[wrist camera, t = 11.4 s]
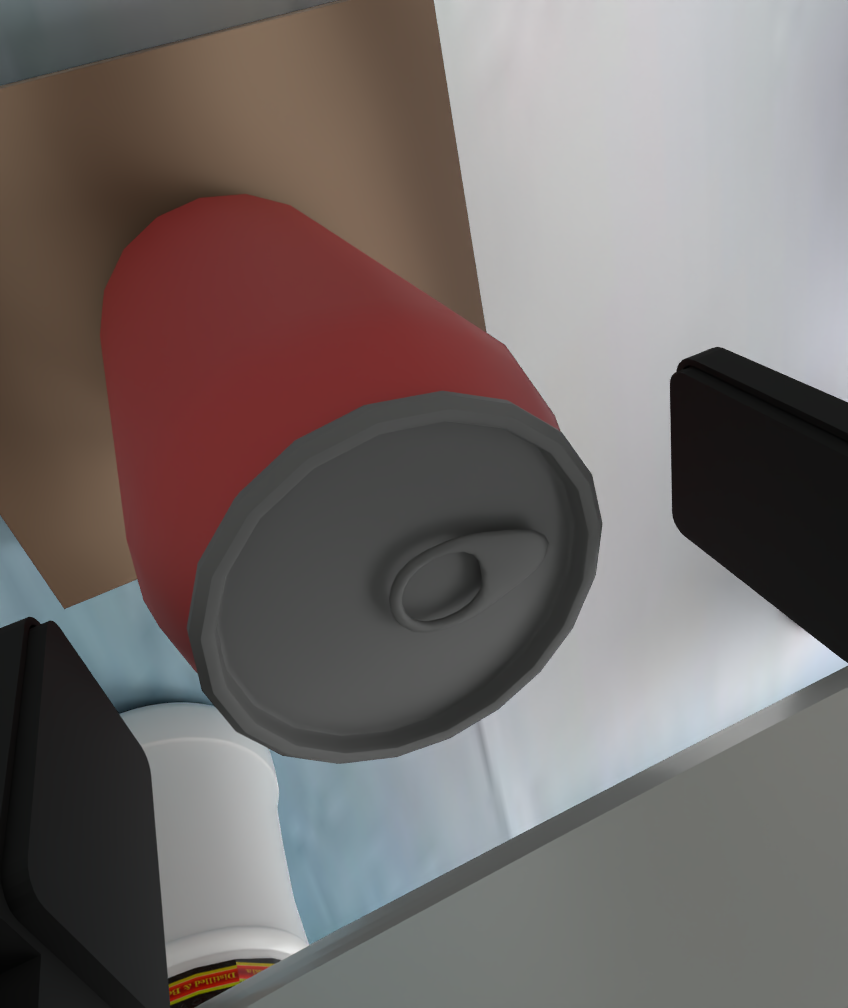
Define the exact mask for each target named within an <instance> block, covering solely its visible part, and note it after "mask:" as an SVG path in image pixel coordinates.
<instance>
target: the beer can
mask: <svg viewBox="0 0 848 1008" xmlns="http://www.w3.org/2000/svg"><path fill="white" fill-rule="evenodd" d="M100 340H101V348H102V356H103V363H104V371H105V379H106V386H107V394H108V402H109V409H110V417H111V425H112V432H113V440H114V448H115V455H116V463H117V471H118V478H119V486H120V494H121V502H122V509H123V517H124V525H125V532H126V540H127V543H128V547H129V550H130V554H131V557H132V561H133V565H134V568H135V572H136V575H137V579H138V582H139V586H140V589H141V593H142V596H143V600H144V602H145V604H146V605H147V607H148V609H149V610H150V612H151V614H152V615H153V617H154V619H155V620H156V622H157V624H158V625H159V627H160V628H161V629H162V631H163V632H164V633H165V634H166V636H167V637H168V638H169V639H170V641H171V642H172V643H173V644H174V645H175V647H176V648H177V649H178V650H179V652H180V653H181V654H182V655H183V657H184V658H185V659H186V660H187V661H188V663H189V664H190V665H191V666H192V668H193V669H194V670H195V671H196V672H197V673H198V677H199V681H200V685H201V689H202V691H203V693H204V694H205V695H206V696H207V697H208V699H209V700H210V701H211V702H212V703H213V705H214V706H215V707H216V708H217V710H218V711H219V712H220V713H221V714H222V716H223V717H224V718H225V719H226V720H227V722H228V723H229V724H230V725H231V726H232V728H233V729H234V730H235V731H236V732H238V733H240V734H241V735H243V736H245V737H247V738H249V739H251V740H253V741H255V742H257V743H259V744H261V745H263V746H265V747H267V748H269V749H271V750H273V751H275V752H276V753H278V754H280V755H282V756H288V757H295V758H302V759H309V760H316V761H323V762H329V763H336V764H341V763H350V762H359V761H367V760H376V759H384V758H393V757H398V756H401V755H404V754H407V753H409V752H412V751H415V750H418V749H421V748H424V747H426V746H429V745H432V744H435V743H438V742H441V741H443V740H446V739H449V738H451V737H453V736H454V735H456V734H458V733H459V732H461V731H463V730H464V729H466V728H468V727H470V726H471V725H473V724H475V723H476V722H478V721H480V720H481V719H483V718H485V717H486V716H488V715H490V714H491V713H493V712H495V711H496V710H498V709H499V708H500V707H502V706H503V705H504V704H505V703H506V702H507V701H508V700H509V699H510V698H512V697H513V696H514V695H515V694H516V693H517V692H518V691H519V690H521V689H522V688H523V687H524V686H525V685H526V684H527V683H528V682H530V681H531V680H532V679H533V678H534V677H535V676H536V675H537V674H538V673H540V672H541V670H542V669H543V667H544V666H545V665H546V663H547V662H548V661H549V659H550V658H551V657H552V655H553V654H554V653H555V651H556V650H557V649H558V647H559V646H560V645H561V643H562V642H563V641H564V639H565V638H566V637H567V635H568V634H569V632H570V631H571V630H572V628H573V626H574V624H575V622H576V619H577V617H578V615H579V612H580V610H581V608H582V606H583V603H584V601H585V599H586V596H587V594H588V592H589V589H590V587H591V585H592V582H593V580H594V578H595V575H596V568H597V561H598V553H599V546H600V538H601V531H602V519H601V515H600V510H599V505H598V501H597V496H596V491H595V487H594V482H593V477H592V474H591V473H590V471H589V470H588V469H587V467H586V466H585V464H584V463H583V462H582V460H581V459H580V457H579V456H578V454H577V453H576V452H575V450H574V449H573V447H572V446H571V445H570V443H569V442H568V440H567V439H566V438H565V436H564V435H563V433H562V432H561V431H560V429H559V426H558V423H557V421H556V418H555V415H554V414H553V412H552V411H551V410H550V408H549V407H548V405H547V404H546V402H545V401H544V400H543V398H542V397H541V395H540V394H539V392H538V391H537V390H536V388H535V387H534V385H533V384H532V382H531V381H530V380H529V378H528V377H527V375H526V374H525V373H524V371H523V370H522V368H521V367H520V365H519V364H518V363H517V361H516V360H515V358H514V357H513V356H512V354H511V353H510V351H509V350H508V348H507V347H506V346H505V345H504V344H503V343H501V342H500V341H498V340H497V339H495V338H493V337H492V336H490V335H489V334H487V333H486V332H484V331H483V330H481V329H480V328H478V327H477V326H475V325H474V324H472V323H471V322H469V321H467V320H466V319H464V318H463V317H461V316H460V315H458V314H457V313H455V312H454V311H452V310H451V309H449V308H448V307H446V306H444V305H443V304H441V303H440V302H438V301H437V300H435V299H434V298H432V297H431V296H429V295H428V294H426V293H425V292H423V291H421V290H420V289H418V288H417V287H415V286H414V285H412V284H411V283H409V282H408V281H406V280H405V279H403V278H402V277H400V276H398V275H397V274H395V273H394V272H392V271H391V270H389V269H388V268H386V267H385V266H383V265H382V264H380V263H379V262H377V261H375V260H374V259H372V258H371V257H369V256H368V255H366V254H365V253H363V252H362V251H360V250H359V249H357V248H356V247H354V246H352V245H351V244H349V243H348V242H346V241H345V240H343V239H342V238H340V237H339V236H337V235H336V234H334V233H333V232H331V231H329V230H328V229H326V228H325V227H323V226H322V225H320V224H319V223H317V222H316V221H314V220H312V219H311V218H309V217H308V216H306V215H305V214H303V213H302V212H300V211H299V210H297V209H295V208H294V207H292V206H291V205H288V204H284V203H280V202H276V201H272V200H268V199H264V198H260V197H256V196H252V195H248V194H239V195H227V196H215V197H203V198H198V199H196V200H194V201H192V202H189V203H187V204H185V205H183V206H180V207H178V208H176V209H174V210H172V211H169V212H167V213H165V214H163V215H160V216H158V217H157V218H156V219H155V220H153V221H152V222H151V223H150V224H149V225H148V226H147V227H146V228H145V229H144V230H143V231H142V232H141V233H140V234H139V235H138V236H137V237H136V238H135V239H134V240H133V241H132V242H131V243H130V244H129V245H128V246H127V247H126V248H125V249H124V250H123V252H122V254H121V256H120V258H119V260H118V262H117V264H116V267H115V269H114V271H113V273H112V275H111V277H110V279H109V281H108V283H107V285H106V287H105V290H104V296H103V306H102V317H101V328H100Z"/></svg>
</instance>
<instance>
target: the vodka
mask: <svg viewBox="0 0 848 1008" xmlns="http://www.w3.org/2000/svg"><path fill="white" fill-rule="evenodd" d="M119 715H120V716H121V717H122V719H123V720H124V722H125V723H126V725H127V726H128V728H129V729H130V731H131V732H132V733H133V735H134V736H135V738H136V739H137V741H138V742H139V744H140V745H141V747H142V748H143V750H144V752H145V754H146V757H147V759H148V762H149V766H150V770H151V778H152V790H153V803H154V815H155V827H156V839H157V851H158V863H159V875H160V887H161V899H162V911H163V924H164V936H165V948H166V960H167V972H168V984H169V996H170V1008H195V1007H197V1006H198V1005H200V1004H202V1003H204V1002H206V1001H208V1000H210V999H211V998H213V997H215V996H217V995H219V994H221V993H222V992H224V991H226V990H228V989H230V988H232V987H233V986H235V985H237V984H239V983H241V982H243V981H244V980H246V979H248V978H250V977H252V976H254V975H256V974H257V973H259V972H261V971H263V970H265V969H267V968H268V967H270V966H272V965H274V964H276V963H278V962H279V961H281V960H283V959H285V958H287V957H289V956H290V955H292V954H294V953H296V952H298V951H300V950H302V949H303V948H305V947H307V946H309V945H310V944H309V943H308V940H307V937H306V934H305V931H304V928H303V925H302V922H301V919H300V916H299V912H298V909H297V906H296V903H295V900H294V896H293V891H292V886H291V881H290V876H289V872H288V867H287V862H286V857H285V852H284V847H283V842H282V835H281V829H280V822H279V816H278V809H277V806H278V801H279V786H278V781H277V777H276V772H275V767H274V764H273V760H272V757H271V754H270V751H269V748H267V747H265V746H263V745H261V744H259V743H257V742H255V741H253V740H251V739H249V738H247V737H245V736H243V735H241V734H240V733H238V732H236V731H235V730H234V729H233V728H232V726H231V725H230V724H229V723H228V722H227V720H226V719H225V718H224V717H223V716H222V714H221V713H220V712H219V711H218V710H217V708H216V707H215V706H211V705H206V704H200V703H189V702H175V703H162V704H156V705H149V706H145V707H141V708H136V709H133V710H130V711H126V712H123V713H120V714H119Z"/></svg>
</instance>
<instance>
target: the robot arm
mask: <svg viewBox="0 0 848 1008" xmlns="http://www.w3.org/2000/svg"><path fill="white" fill-rule="evenodd" d="M670 413H671V471H672V514H673V519H674V522H675V524H676V526H677V528H678V529H679V531H680V532H681V533H682V534H683V535H684V536H685V537H687V538H688V539H689V540H690V541H692V542H693V543H694V544H695V545H697V546H698V547H699V548H701V549H702V550H703V551H704V552H706V553H707V554H708V555H710V556H711V557H712V558H713V559H715V560H716V561H717V562H719V563H720V564H721V565H722V566H724V567H725V568H726V569H727V570H729V571H730V572H731V573H733V574H734V575H735V576H736V577H738V578H739V579H740V580H742V581H743V582H744V583H745V584H747V585H748V586H749V587H751V588H752V589H753V590H754V591H756V592H757V593H758V594H759V595H761V596H762V597H763V598H765V599H766V600H767V601H768V602H770V603H771V604H772V605H774V606H775V607H776V608H777V609H779V610H780V611H781V612H782V613H784V614H785V615H786V616H788V617H789V618H790V619H791V620H793V621H794V622H795V623H797V624H798V625H799V626H800V627H802V628H803V629H804V630H806V631H807V632H808V633H809V634H811V635H812V636H813V637H814V638H816V639H817V640H818V641H820V642H821V643H822V644H823V645H825V646H826V647H827V648H829V649H830V650H831V651H832V652H834V653H835V654H836V655H838V656H839V657H840V658H841V659H843V660H844V661H846V662H847V663H848V402H845V401H843V400H841V399H839V398H836V397H834V396H832V395H829V394H827V393H825V392H822V391H820V390H818V389H816V388H813V387H811V386H809V385H806V384H804V383H802V382H800V381H797V380H795V379H793V378H790V377H788V376H786V375H783V374H781V373H779V372H777V371H774V370H772V369H770V368H767V367H765V366H763V365H761V364H758V363H756V362H754V361H751V360H749V359H747V358H744V357H742V356H740V355H738V354H735V353H733V352H731V351H728V350H726V349H724V348H720V347H715V348H711V349H709V350H706V351H704V352H701V353H699V354H696V355H694V356H691V357H689V358H686V359H683V360H682V361H681V362H680V363H679V365H678V367H677V372H676V373H674V374H673V375H672V377H671V380H670ZM0 1008H170V996H169V984H168V972H167V960H166V948H165V936H164V924H163V911H162V899H161V887H160V875H159V863H158V851H157V839H156V827H155V815H154V803H153V790H152V778H151V770H150V766H149V762H148V759H147V757H146V754H145V752H144V750H143V748H142V747H141V745H140V744H139V742H138V741H137V739H136V738H135V736H134V735H133V733H132V732H131V731H130V729H129V728H128V726H127V725H126V723H125V722H124V720H123V719H122V717H121V716H120V715H119V713H118V712H117V710H116V709H115V707H114V706H113V704H112V703H111V701H110V700H109V699H108V697H107V696H106V694H105V693H104V691H103V690H102V688H101V687H100V685H99V684H98V683H97V681H96V680H95V678H94V677H93V675H92V674H91V672H90V671H89V669H88V668H87V667H86V665H85V664H84V662H83V661H82V659H81V658H80V656H79V655H78V653H77V652H76V651H75V649H74V648H73V646H72V645H71V643H70V642H69V640H68V639H67V637H66V636H65V635H64V633H63V632H62V630H61V629H60V627H59V626H58V625H57V624H56V623H55V622H54V621H48V622H45V623H43V624H40V623H39V621H37V620H36V619H35V618H33V617H27V618H25V619H22V620H20V621H17V622H15V623H12V624H10V625H7V626H5V627H2V628H0ZM195 1008H848V666H846V667H844V668H842V669H840V670H838V671H837V672H835V673H833V674H831V675H829V676H827V677H825V678H823V679H821V680H819V681H817V682H815V683H813V684H811V685H809V686H807V687H805V688H803V689H801V690H799V691H797V692H795V693H793V694H791V695H789V696H787V697H785V698H784V699H782V700H780V701H778V702H776V703H774V704H772V705H770V706H768V707H766V708H764V709H762V710H760V711H758V712H756V713H754V714H752V715H750V716H748V717H746V718H744V719H742V720H741V721H739V722H737V723H735V724H733V725H731V726H729V727H727V728H725V729H723V730H721V731H719V732H717V733H715V734H713V735H711V736H709V737H708V738H706V739H704V740H702V741H700V742H698V743H696V744H694V745H692V746H690V747H688V748H686V749H684V750H682V751H680V752H678V753H676V754H675V755H673V756H671V757H669V758H667V759H665V760H663V761H661V762H659V763H657V764H655V765H653V766H651V767H649V768H647V769H645V770H644V771H642V772H640V773H638V774H636V775H634V776H632V777H630V778H628V779H626V780H624V781H622V782H620V783H618V784H616V785H615V786H613V787H611V788H609V789H607V790H605V791H603V792H601V793H599V794H597V795H595V796H593V797H591V798H589V799H587V800H586V801H584V802H582V803H580V804H578V805H576V806H574V807H572V808H570V809H568V810H566V811H564V812H562V813H560V814H558V815H557V816H555V817H553V818H551V819H549V820H547V821H545V822H543V823H541V824H539V825H537V826H535V827H533V828H532V829H530V830H528V831H526V832H524V833H522V834H520V835H518V836H516V837H514V838H512V839H510V840H509V841H507V842H505V843H503V844H501V845H499V846H497V847H495V848H493V849H491V850H489V851H488V852H486V853H484V854H482V855H480V856H478V857H476V858H474V859H472V860H470V861H468V862H467V863H465V864H463V865H461V866H459V867H457V868H455V869H453V870H451V871H449V872H447V873H445V874H444V875H442V876H440V877H438V878H436V879H434V880H432V881H430V882H428V883H426V884H424V885H423V886H421V887H419V888H417V889H415V890H413V891H411V892H409V893H407V894H405V895H403V896H402V897H400V898H398V899H396V900H394V901H392V902H390V903H388V904H386V905H384V906H382V907H381V908H379V909H377V910H375V911H373V912H371V913H369V914H367V915H365V916H363V917H361V918H359V919H358V920H356V921H354V922H352V923H350V924H348V925H346V926H344V927H342V928H340V929H338V930H337V931H335V932H333V933H331V934H329V935H327V936H325V937H324V938H322V939H320V940H318V941H316V942H314V943H313V944H311V945H309V946H307V947H305V948H303V949H302V950H300V951H298V952H296V953H294V954H292V955H290V956H289V957H287V958H285V959H283V960H281V961H279V962H278V963H276V964H274V965H272V966H270V967H268V968H267V969H265V970H263V971H261V972H259V973H257V974H256V975H254V976H252V977H250V978H248V979H246V980H244V981H243V982H241V983H239V984H237V985H235V986H233V987H232V988H230V989H228V990H226V991H224V992H222V993H221V994H219V995H217V996H215V997H213V998H211V999H210V1000H208V1001H206V1002H204V1003H202V1004H200V1005H198V1006H197V1007H195Z"/></svg>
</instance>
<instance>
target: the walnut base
mask: <svg viewBox="0 0 848 1008" xmlns="http://www.w3.org/2000/svg"><path fill="white" fill-rule="evenodd" d="M239 194H248V195H252V196H256V197H260V198H264V199H268V200H272V201H276V202H280V203H284V204H288V205H291V206H292V207H294V208H295V209H297V210H299V211H300V212H302V213H303V214H305V215H306V216H308V217H309V218H311V219H312V220H314V221H316V222H317V223H319V224H320V225H322V226H323V227H325V228H326V229H328V230H329V231H331V232H333V233H334V234H336V235H337V236H339V237H340V238H342V239H343V240H345V241H346V242H348V243H349V244H351V245H352V246H354V247H356V248H357V249H359V250H360V251H362V252H363V253H365V254H366V255H368V256H369V257H371V258H372V259H374V260H375V261H377V262H379V263H380V264H382V265H383V266H385V267H386V268H388V269H389V270H391V271H392V272H394V273H395V274H397V275H398V276H400V277H402V278H403V279H405V280H406V281H408V282H409V283H411V284H412V285H414V286H415V287H417V288H418V289H420V290H421V291H423V292H425V293H426V294H428V295H429V296H431V297H432V298H434V299H435V300H437V301H438V302H440V303H441V304H443V305H444V306H446V307H448V308H449V309H451V310H452V311H454V312H455V313H457V314H458V315H460V316H461V317H463V318H464V319H466V320H467V321H469V322H471V323H472V324H474V325H475V326H477V327H478V328H480V329H481V330H483V331H484V332H486V328H485V321H484V315H483V309H482V302H481V296H480V290H479V284H478V277H477V271H476V265H475V258H474V252H473V246H472V240H471V233H470V227H469V221H468V214H467V208H466V202H465V195H464V189H463V183H462V177H461V170H460V164H459V158H458V151H457V145H456V139H455V133H454V126H453V120H452V114H451V107H450V101H449V95H448V88H447V82H446V76H445V70H444V63H443V57H442V51H441V44H440V38H439V32H438V26H437V19H436V13H435V7H434V0H338V1H334V2H330V3H326V4H322V5H318V6H314V7H310V8H306V9H303V10H299V11H295V12H291V13H287V14H283V15H279V16H275V17H271V18H267V19H263V20H259V21H255V22H251V23H247V24H243V25H239V26H235V27H231V28H227V29H223V30H219V31H215V32H211V33H208V34H204V35H200V36H196V37H192V38H188V39H184V40H180V41H176V42H172V43H168V44H164V45H160V46H156V47H152V48H148V49H144V50H140V51H136V52H132V53H128V54H124V55H120V56H116V57H113V58H109V59H105V60H101V61H97V62H93V63H89V64H85V65H81V66H77V67H73V68H69V69H65V70H61V71H57V72H53V73H49V74H45V75H41V76H37V77H33V78H29V79H25V80H21V81H18V82H14V83H10V84H6V85H2V86H0V515H1V517H2V518H3V520H4V521H5V523H6V524H7V526H8V527H9V529H10V530H11V531H12V533H13V534H14V536H15V537H16V539H17V540H18V542H19V543H20V545H21V546H22V548H23V549H24V551H25V552H26V553H27V555H28V556H29V558H30V559H31V561H32V562H33V564H34V565H35V567H36V568H37V570H38V571H39V573H40V574H41V575H42V577H43V578H44V580H45V581H46V583H47V584H48V586H49V587H50V589H51V590H52V592H53V593H54V595H55V596H56V598H57V599H58V600H59V602H60V603H61V605H62V606H63V608H64V609H66V608H68V607H71V606H73V605H76V604H78V603H80V602H83V601H85V600H88V599H90V598H93V597H95V596H97V595H100V594H102V593H105V592H107V591H110V590H112V589H115V588H117V587H119V586H122V585H124V584H127V583H129V582H132V581H134V580H136V579H137V575H136V572H135V568H134V565H133V561H132V557H131V554H130V550H129V547H128V543H127V540H126V532H125V525H124V517H123V509H122V502H121V494H120V486H119V478H118V471H117V463H116V455H115V448H114V440H113V432H112V425H111V417H110V409H109V402H108V394H107V386H106V379H105V371H104V363H103V356H102V348H101V340H100V328H101V317H102V306H103V296H104V290H105V287H106V285H107V283H108V281H109V279H110V277H111V275H112V273H113V271H114V269H115V267H116V264H117V262H118V260H119V258H120V256H121V254H122V252H123V250H124V249H125V248H126V247H127V246H128V245H129V244H130V243H131V242H132V241H133V240H134V239H135V238H136V237H137V236H138V235H139V234H140V233H141V232H142V231H143V230H144V229H145V228H146V227H147V226H148V225H149V224H150V223H151V222H152V221H153V220H155V219H156V218H157V217H158V216H160V215H163V214H165V213H167V212H169V211H172V210H174V209H176V208H178V207H180V206H183V205H185V204H187V203H189V202H192V201H194V200H196V199H198V198H203V197H215V196H227V195H239Z"/></svg>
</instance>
